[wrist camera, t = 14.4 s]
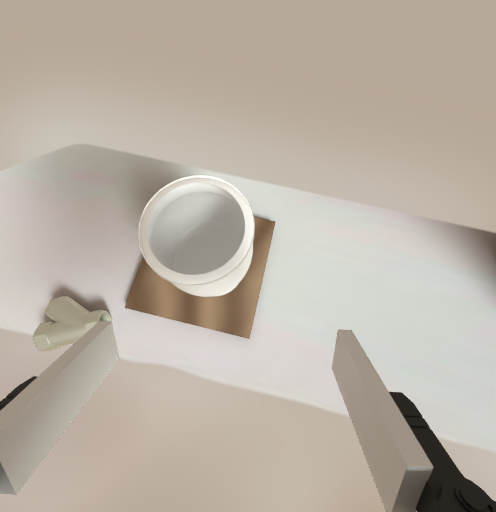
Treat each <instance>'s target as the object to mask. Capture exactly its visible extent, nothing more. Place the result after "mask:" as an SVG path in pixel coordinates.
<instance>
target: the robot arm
mask: <svg viewBox="0 0 496 512" xmlns="http://www.w3.org/2000/svg"><path fill="white" fill-rule="evenodd" d="M118 361H119V355H118V350H117V345H116V340H115V335H114V330H113V325H112V322H109V321H99V322H98V323H96V324H95V325H94V326H93V327H92V328H91V329H90V330H89V331H88V332H87V333H85V334H84V335H83V336H82V337H81V338H80V339H79V340H78V341H77V342H76V343H74V344H73V345H72V346H71V347H70V348H69V349H68V350H67V351H66V352H65V353H64V354H62V355H61V356H60V357H59V358H58V359H57V360H56V361H55V362H54V363H52V364H51V365H50V366H49V367H48V368H47V369H46V370H45V371H44V372H43V373H41V374H40V375H39V376H38V377H35V376H34V377H32V378H30V379H29V380H27V381H25V382H24V383H22V384H20V385H19V386H18V387H17V388H15V389H14V390H13V391H12V392H11V393H10V394H8V395H7V397H6V398H5V399H3V400H2V401H0V494H13V495H17V494H18V492H19V491H20V490H21V488H22V487H23V486H24V484H25V483H26V482H27V480H28V479H29V478H30V476H31V475H32V474H33V472H34V471H35V470H36V468H37V467H38V466H39V464H40V463H41V462H42V461H43V459H44V458H45V457H46V455H47V454H48V453H49V451H50V450H51V449H52V447H53V446H54V445H55V443H56V442H57V441H58V440H59V438H60V437H61V436H62V434H63V433H64V432H65V430H66V429H67V428H68V426H69V425H70V424H71V422H72V421H73V420H74V419H75V417H76V416H77V415H78V413H79V412H80V411H81V409H82V408H83V407H84V405H85V404H86V403H87V401H88V400H89V399H90V397H91V396H92V395H93V394H94V392H95V391H96V390H97V388H98V387H99V386H100V384H101V383H102V382H103V380H104V379H105V377H106V376H107V375H108V374H109V372H110V371H111V370H112V369H113V367H114V366H115V365H116V363H117V362H118ZM332 370H333V373H334V375H335V378H336V381H337V383H338V386H339V389H340V391H341V394H342V397H343V399H344V402H345V405H346V407H347V410H348V412H349V415H350V418H351V420H352V423H353V426H354V428H355V431H356V434H357V436H358V439H359V442H360V444H361V447H362V450H363V452H364V455H365V457H366V460H367V463H368V465H369V468H370V471H371V473H372V476H373V478H374V481H375V484H376V487H377V489H378V492H379V495H380V497H381V500H382V503H383V505H384V508H385V511H386V512H416V511H417V512H496V502H495V501H493V500H492V499H491V498H490V497H489V496H488V495H487V494H486V493H485V492H484V491H483V490H482V489H481V488H480V487H478V486H477V485H476V484H474V483H473V482H472V481H470V480H468V479H466V478H464V476H463V475H462V474H461V473H460V471H459V470H458V468H457V467H456V465H455V464H454V462H453V461H452V459H451V458H450V456H449V455H448V453H447V452H446V451H445V449H444V448H443V446H442V445H441V443H440V442H439V440H438V439H437V437H436V436H435V434H434V433H433V431H432V430H431V429H430V428H429V425H428V424H427V422H426V421H425V420H424V419H423V418H422V415H421V414H420V412H419V411H418V409H417V408H416V406H415V405H414V403H413V402H411V401H410V400H409V399H408V398H407V397H406V396H405V395H404V394H403V393H400V392H388V390H387V388H386V387H385V385H384V383H383V382H382V380H381V378H380V377H379V375H378V373H377V372H376V370H375V368H374V367H373V365H372V363H371V362H370V360H369V358H368V357H367V355H366V353H365V352H364V350H363V348H362V347H361V345H360V343H359V342H358V340H357V338H356V337H355V335H354V333H353V332H352V330H338V332H337V339H336V345H335V351H334V358H333V364H332Z"/></svg>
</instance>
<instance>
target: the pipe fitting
mask: <svg viewBox="0 0 496 512" xmlns="http://www.w3.org/2000/svg"><path fill="white" fill-rule="evenodd" d="M46 315H47V316H48V317H50V318H51V319H52V320H54V321H55V322H47V323H43V324H40V325H39V326H38V328H37V329H36V331H35V333H34V335H33V340H34V344H35V346H36V348H37V349H38V350H39V351H50V350H54V349H58V348H61V346H64V345H68V344H72V343H76V342H77V341H78V340H79V339H80V338H81V337H82V336H83V335H84V334H85V333H87V332H88V331H89V330H90V329H91V328H92V327H93V326H94V325H95V324H96V323H98V322H99V321H109V322H112V320H111V317H110V315H109V313H108V312H107V311H105V310H97V311H92V312H89V311H88V310H87V309H85V308H84V307H82V306H81V305H80V304H78V303H77V302H75V301H74V300H73V299H71V298H70V297H68V296H62V297H59V298H56V299H52V300H51V301H50V302H49V305H48V307H47V309H46Z"/></svg>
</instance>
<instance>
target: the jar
mask: <svg viewBox="0 0 496 512" xmlns="http://www.w3.org/2000/svg"><path fill="white" fill-rule="evenodd" d="M254 231H255V223H254V216H253V212H252V209H251V207H250V205H249V203H248V201H247V199H246V198H245V197H244V195H243V194H242V193H241V192H240V191H239V190H238V189H237V188H236V187H234V186H233V185H231V184H230V183H228V182H226V181H224V180H222V179H219V178H216V177H211V176H202V175H198V176H189V177H184V178H181V179H178V180H175V181H173V182H171V183H169V184H167V185H166V186H164V187H163V188H162V189H160V190H159V191H158V192H157V193H156V194H155V195H154V196H153V197H152V198H151V199H150V201H149V202H148V203H147V205H146V207H145V208H144V210H143V212H142V215H141V218H140V221H139V226H138V241H139V246H140V250H141V252H142V255H143V257H144V259H145V260H146V262H147V263H148V265H149V266H150V267H151V268H152V269H153V270H154V271H155V272H156V273H157V274H158V275H159V276H161V277H162V278H164V279H165V280H167V281H169V282H171V283H172V284H173V285H175V286H176V287H177V288H179V289H180V290H182V291H184V292H186V293H189V294H192V295H195V296H201V297H211V296H221V295H225V294H227V293H229V292H230V291H232V290H233V289H234V288H235V287H236V286H237V285H238V284H239V282H240V281H241V280H242V279H243V277H244V276H245V274H246V273H247V271H248V269H249V266H250V263H251V260H252V254H253V240H254Z"/></svg>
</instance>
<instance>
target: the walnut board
mask: <svg viewBox="0 0 496 512" xmlns="http://www.w3.org/2000/svg"><path fill="white" fill-rule="evenodd" d="M254 223H255V231H254V240H253V254H252V260H251V263H250V266H249V269H248V271H247V273H246V274H245V276H244V277H243V279H242V280H241V281H240V282H239V284H238V285H237V286H236V287H235V288H234V289H233V290H232V291H230V292H229V293H227V294H225V295H221V296H211V297H201V296H195V295H192V294H189V293H186V292H184V291H182V290H180V289H179V288H177V287H176V286H175V285H173V284H172V283H171V282H169V281H167V280H165V279H164V278H162V277H161V276H159V275H158V274H157V273H156V272H155V271H154V270H153V269H152V268H151V267H150V266H149V265H148V263H147V262H146V260H145V259H144V258H143V261H142V264H141V266H140V269H139V271H138V274H137V277H136V279H135V282H134V284H133V287H132V290H131V292H130V295H129V297H128V300H127V303H126V305H125V308H128V309H132V310H136V311H140V312H144V313H148V314H152V315H156V316H160V317H164V318H168V319H172V320H176V321H180V322H184V323H188V324H192V325H196V326H200V327H204V328H208V329H212V330H216V331H220V332H224V333H228V334H232V335H236V336H240V337H244V338H248V339H249V338H250V334H251V329H252V325H253V320H254V316H255V311H256V307H257V302H258V298H259V293H260V289H261V284H262V280H263V275H264V271H265V266H266V262H267V257H268V253H269V248H270V244H271V239H272V235H273V230H274V226H275V222H274V221H270V220H265V219H261V218H256V217H254Z"/></svg>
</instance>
